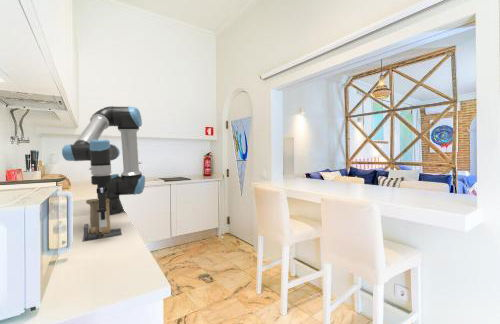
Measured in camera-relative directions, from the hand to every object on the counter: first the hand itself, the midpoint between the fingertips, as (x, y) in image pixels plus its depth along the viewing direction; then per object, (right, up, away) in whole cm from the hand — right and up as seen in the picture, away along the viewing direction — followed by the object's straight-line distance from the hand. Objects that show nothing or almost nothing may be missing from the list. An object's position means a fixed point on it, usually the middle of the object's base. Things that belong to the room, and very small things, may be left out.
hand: (103, 222), depth 109 cm
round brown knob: (-3, -5, -1) cm, 6 cm away
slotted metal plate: (0, -7, 0) cm, 7 cm away
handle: (-10, -6, +10) cm, 15 cm away
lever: (+1, -5, +1) cm, 5 cm away
